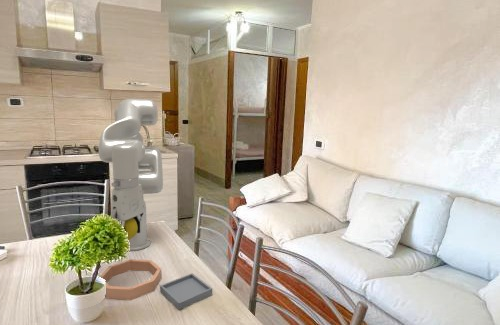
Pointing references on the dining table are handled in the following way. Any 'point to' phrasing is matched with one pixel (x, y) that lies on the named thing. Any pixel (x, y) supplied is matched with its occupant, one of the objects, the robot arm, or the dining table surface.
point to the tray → (185, 291)
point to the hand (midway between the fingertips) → (129, 235)
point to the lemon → (131, 227)
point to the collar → (136, 290)
